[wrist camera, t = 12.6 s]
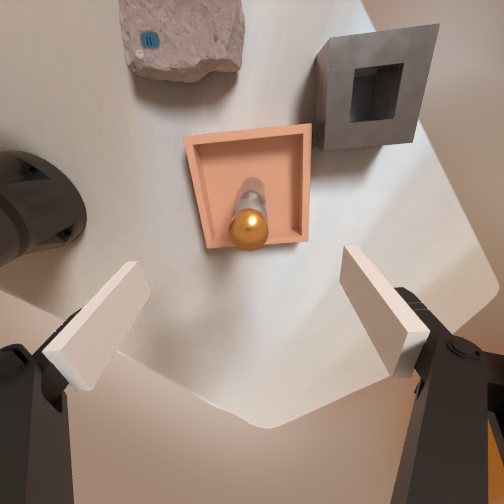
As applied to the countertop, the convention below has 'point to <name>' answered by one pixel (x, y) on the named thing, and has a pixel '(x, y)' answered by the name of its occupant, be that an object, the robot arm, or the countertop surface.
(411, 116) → the block
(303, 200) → the tray
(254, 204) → the pin
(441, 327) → the robot arm
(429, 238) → the countertop surface
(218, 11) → the decorative stone
